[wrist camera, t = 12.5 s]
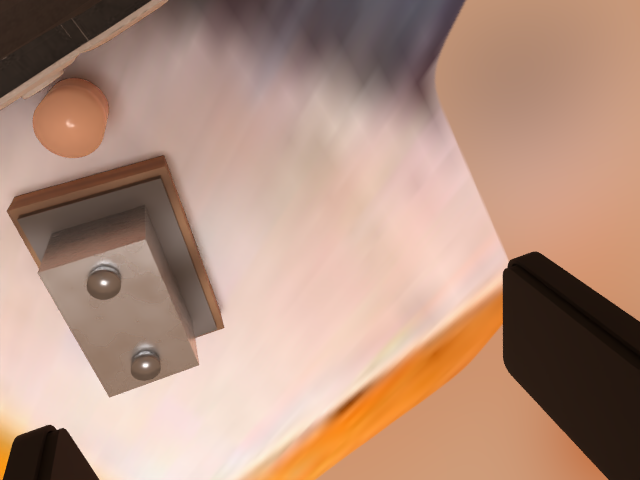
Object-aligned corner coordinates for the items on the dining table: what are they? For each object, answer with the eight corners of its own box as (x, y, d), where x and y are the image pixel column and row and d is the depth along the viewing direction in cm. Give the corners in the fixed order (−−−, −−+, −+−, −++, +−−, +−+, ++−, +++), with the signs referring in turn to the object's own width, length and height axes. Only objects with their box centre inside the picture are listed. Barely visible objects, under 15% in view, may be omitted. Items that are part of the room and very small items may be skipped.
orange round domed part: (36, 86, 31) (20, 103, 27) (95, 71, 32) (88, 86, 28) (61, 141, 33) (50, 165, 29) (117, 126, 34) (114, 148, 30)
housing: (51, 232, 33) (35, 279, 28) (144, 204, 34) (145, 244, 29) (113, 348, 38) (108, 405, 33) (192, 320, 39) (200, 371, 34)
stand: (14, 196, 34) (4, 214, 31) (163, 155, 36) (165, 169, 33) (98, 352, 41) (96, 377, 38) (220, 311, 43) (225, 332, 40)
